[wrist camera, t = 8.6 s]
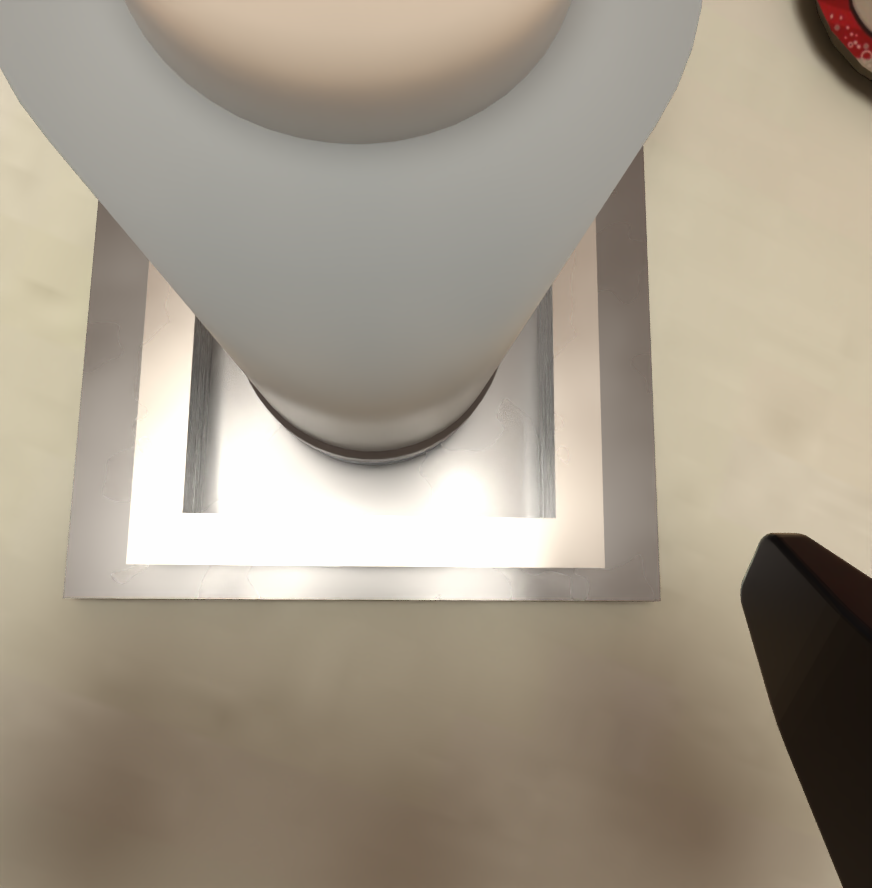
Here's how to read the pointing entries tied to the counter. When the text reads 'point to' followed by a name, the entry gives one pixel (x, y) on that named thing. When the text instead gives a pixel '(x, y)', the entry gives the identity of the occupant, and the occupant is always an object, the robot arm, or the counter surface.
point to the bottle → (353, 176)
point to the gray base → (371, 486)
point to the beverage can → (850, 30)
